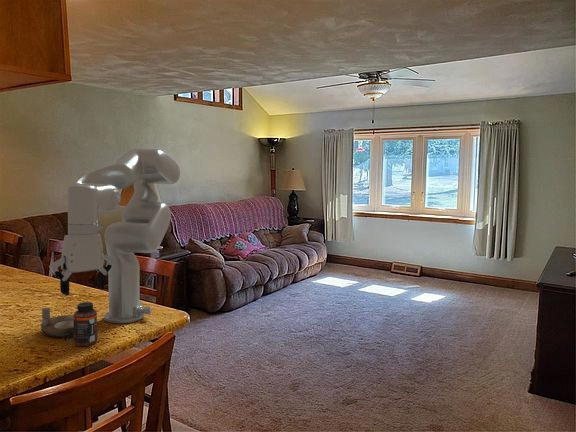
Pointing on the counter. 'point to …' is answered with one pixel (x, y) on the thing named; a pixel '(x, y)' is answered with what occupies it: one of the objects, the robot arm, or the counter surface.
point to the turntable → (56, 323)
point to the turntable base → (62, 336)
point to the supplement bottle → (85, 325)
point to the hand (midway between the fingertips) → (83, 291)
